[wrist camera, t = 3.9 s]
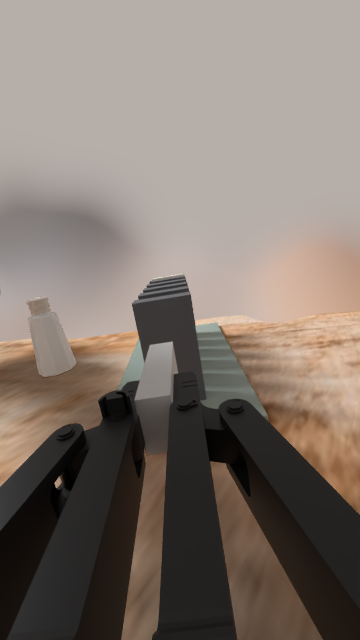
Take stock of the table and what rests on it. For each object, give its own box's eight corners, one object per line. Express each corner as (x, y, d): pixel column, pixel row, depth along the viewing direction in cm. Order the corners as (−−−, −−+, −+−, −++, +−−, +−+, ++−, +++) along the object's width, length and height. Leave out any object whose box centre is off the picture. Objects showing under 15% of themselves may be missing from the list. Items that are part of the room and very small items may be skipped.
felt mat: (268, 421, 21) (267, 415, 21) (97, 447, 22) (95, 440, 22) (217, 325, 49) (216, 322, 48) (141, 337, 49) (140, 334, 49)
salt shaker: (40, 368, 42) (18, 300, 39) (76, 358, 44) (58, 292, 41) (36, 381, 37) (11, 304, 34) (77, 369, 39) (56, 295, 36)
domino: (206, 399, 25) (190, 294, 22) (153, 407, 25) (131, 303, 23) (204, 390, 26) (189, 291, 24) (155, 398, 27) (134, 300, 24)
